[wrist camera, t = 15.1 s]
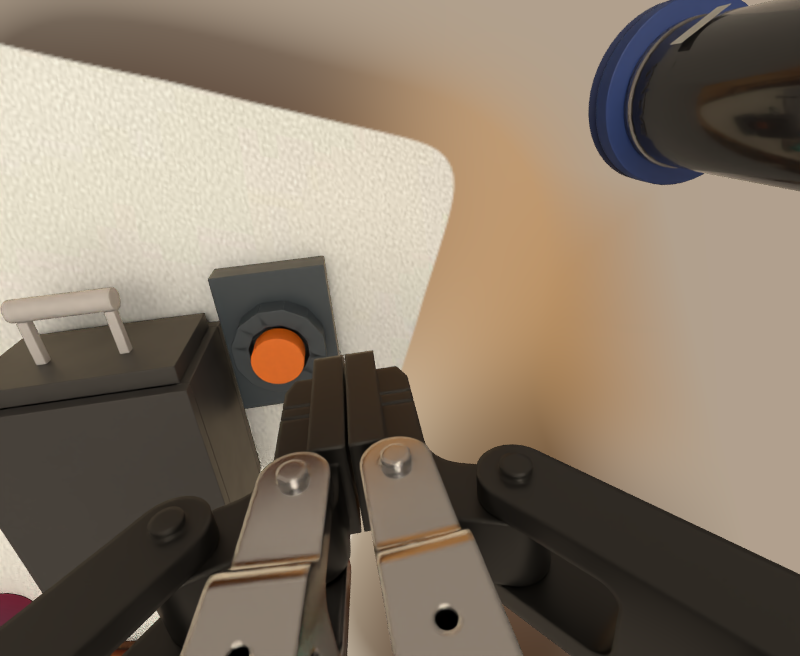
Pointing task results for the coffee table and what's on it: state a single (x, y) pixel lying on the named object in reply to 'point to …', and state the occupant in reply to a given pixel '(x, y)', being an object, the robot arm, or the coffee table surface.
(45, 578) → the drawer cabinet
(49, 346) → the dark box with handle
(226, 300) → the control block
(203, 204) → the coffee table surface
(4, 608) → the cup
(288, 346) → the button
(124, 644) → the contraption on wooden base
